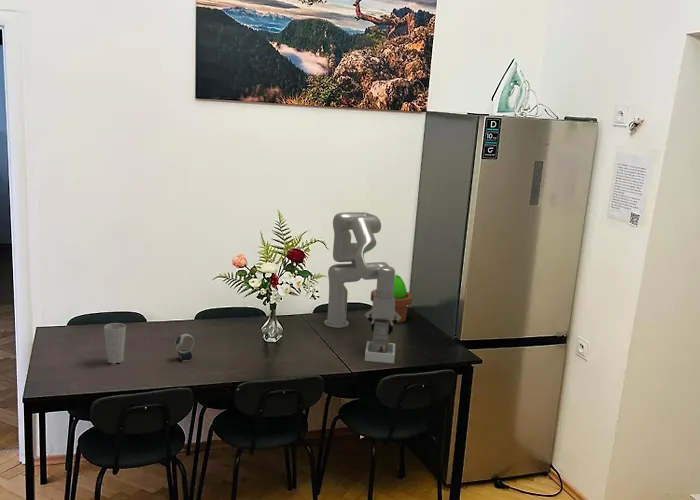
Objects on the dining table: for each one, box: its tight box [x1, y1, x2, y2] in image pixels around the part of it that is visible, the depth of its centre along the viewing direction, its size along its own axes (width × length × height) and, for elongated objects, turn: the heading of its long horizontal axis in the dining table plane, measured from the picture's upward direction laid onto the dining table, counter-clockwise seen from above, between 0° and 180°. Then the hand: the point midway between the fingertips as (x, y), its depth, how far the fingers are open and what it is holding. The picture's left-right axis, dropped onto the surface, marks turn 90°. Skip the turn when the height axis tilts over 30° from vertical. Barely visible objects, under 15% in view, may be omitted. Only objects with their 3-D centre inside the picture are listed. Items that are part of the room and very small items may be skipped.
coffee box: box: [372, 319, 390, 353], centre depth 276 cm, size 9×6×16 cm
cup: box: [103, 322, 127, 363], centre depth 253 cm, size 8×8×16 cm
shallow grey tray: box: [364, 340, 396, 364], centre depth 278 cm, size 14×13×4 cm
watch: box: [174, 333, 196, 362], centre depth 260 cm, size 6×8×11 cm
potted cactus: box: [370, 274, 413, 324], centre depth 329 cm, size 22×22×25 cm
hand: (381, 332), depth 276 cm, fingers closed on coffee box, 6 cm apart
